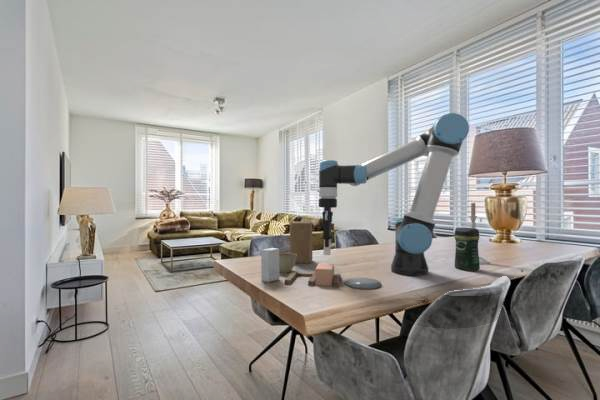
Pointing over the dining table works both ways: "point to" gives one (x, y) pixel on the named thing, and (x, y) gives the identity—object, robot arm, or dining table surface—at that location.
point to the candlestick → (473, 225)
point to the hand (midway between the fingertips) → (327, 254)
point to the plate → (362, 283)
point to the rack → (312, 279)
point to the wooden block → (301, 241)
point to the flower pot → (286, 261)
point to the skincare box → (269, 264)
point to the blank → (324, 274)
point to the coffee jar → (467, 249)
